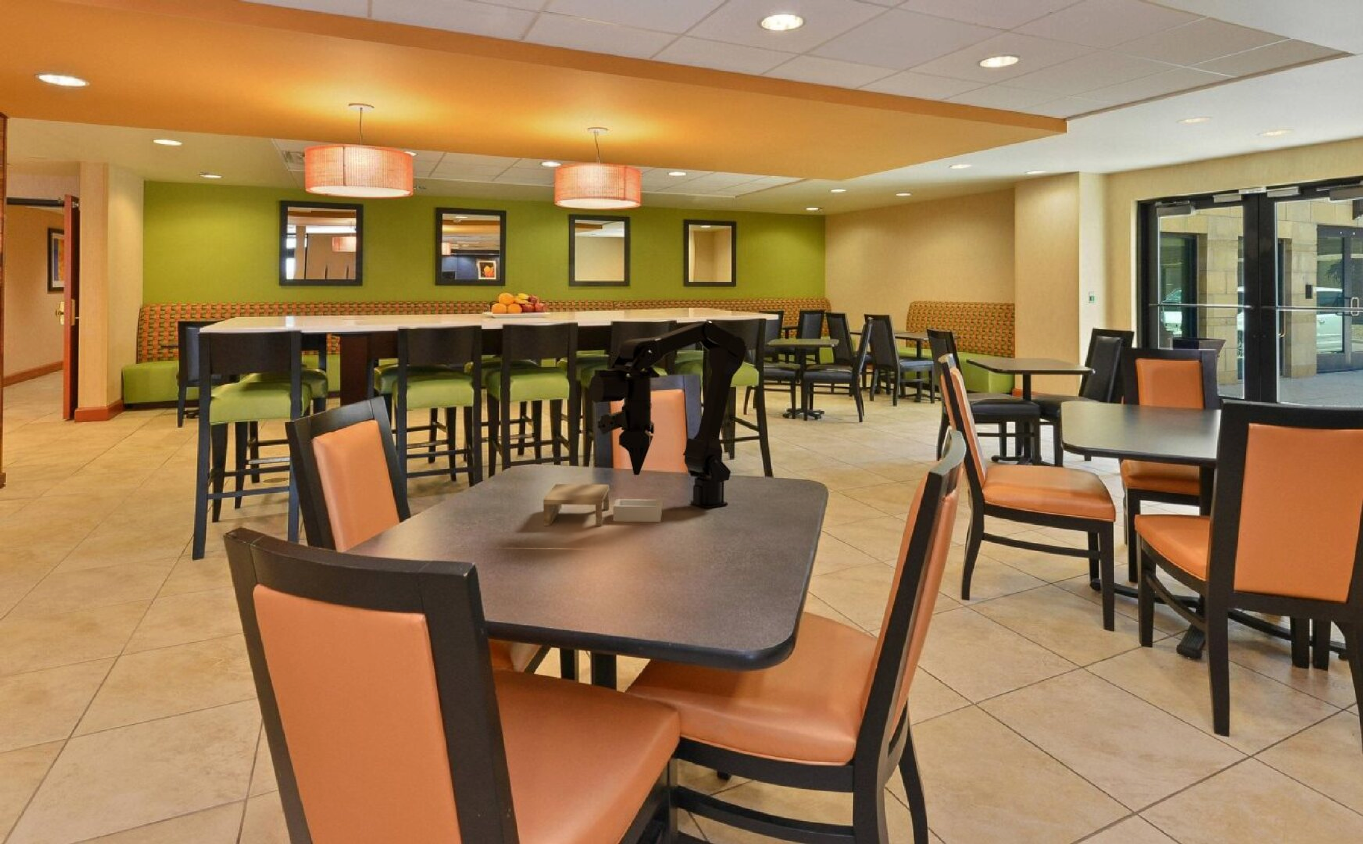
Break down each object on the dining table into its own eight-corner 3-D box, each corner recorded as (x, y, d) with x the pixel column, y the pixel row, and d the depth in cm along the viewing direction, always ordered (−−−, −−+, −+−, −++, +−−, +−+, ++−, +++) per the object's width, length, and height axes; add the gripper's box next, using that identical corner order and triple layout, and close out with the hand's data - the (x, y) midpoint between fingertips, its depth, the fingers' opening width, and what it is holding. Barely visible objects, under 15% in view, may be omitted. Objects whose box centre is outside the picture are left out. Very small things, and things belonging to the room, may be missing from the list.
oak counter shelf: (609, 508, 175) (609, 484, 174) (601, 526, 160) (601, 500, 159) (556, 507, 175) (555, 484, 174) (543, 525, 160) (543, 499, 160)
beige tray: (661, 515, 170) (661, 499, 170) (660, 523, 164) (660, 506, 164) (616, 514, 171) (616, 499, 170) (613, 522, 164) (613, 506, 164)
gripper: (604, 394, 173) (605, 463, 175) (593, 404, 155) (594, 481, 157) (654, 395, 173) (654, 463, 175) (649, 405, 154) (649, 481, 157)
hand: (637, 472), depth 166 cm, fingers open, 6 cm apart
